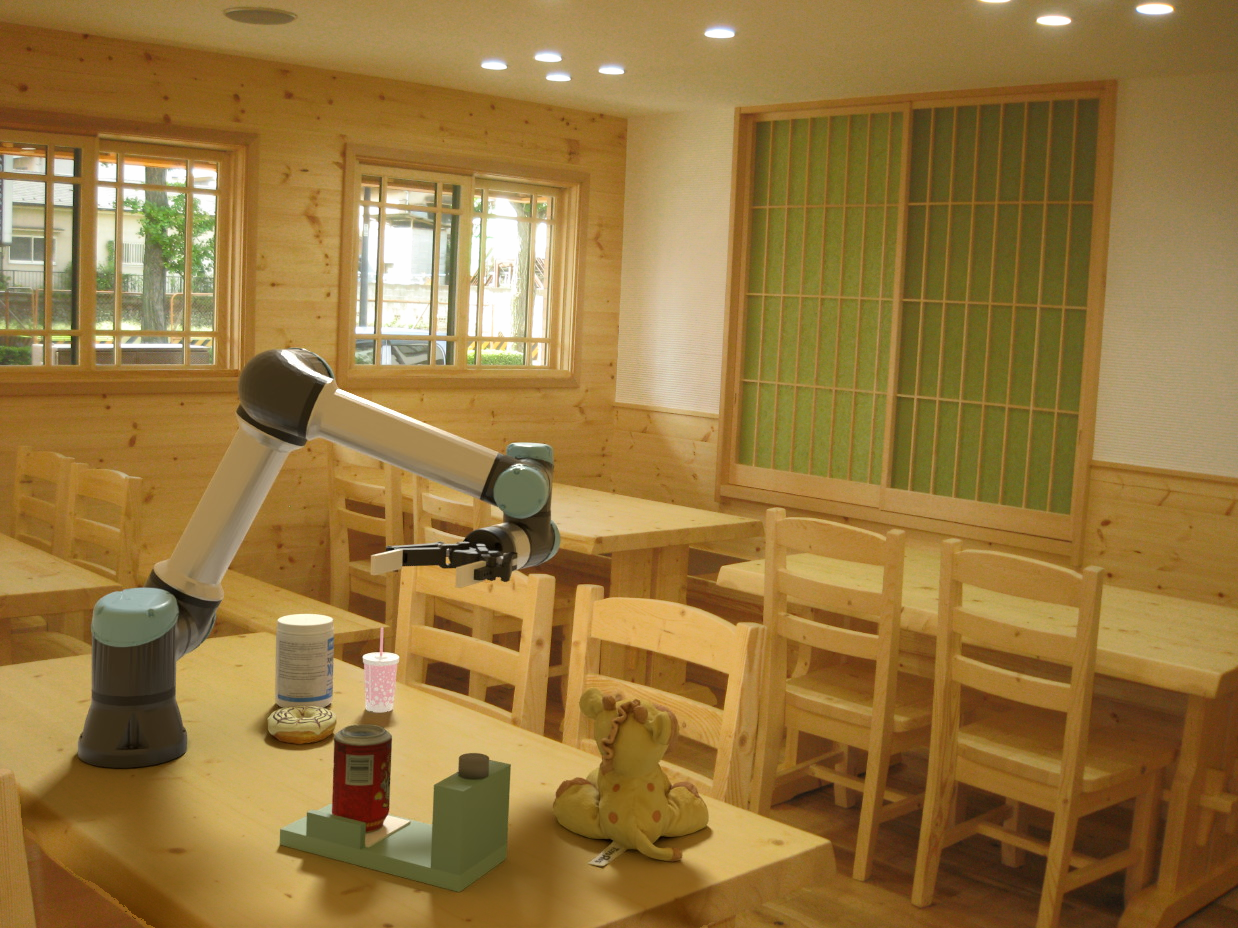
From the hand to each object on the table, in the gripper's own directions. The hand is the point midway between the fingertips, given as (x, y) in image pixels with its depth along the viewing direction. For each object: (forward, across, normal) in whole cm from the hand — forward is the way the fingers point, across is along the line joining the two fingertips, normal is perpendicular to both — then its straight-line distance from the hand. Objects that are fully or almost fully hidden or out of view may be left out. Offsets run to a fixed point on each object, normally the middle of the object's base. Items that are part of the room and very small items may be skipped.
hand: (414, 571), depth 169 cm
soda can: (+15, -3, -30) cm, 33 cm away
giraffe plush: (-7, -30, -32) cm, 45 cm away
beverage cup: (-33, +28, -32) cm, 54 cm away
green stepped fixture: (+15, -8, -32) cm, 36 cm away
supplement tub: (-28, +40, -32) cm, 59 cm away
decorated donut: (-15, +30, -32) cm, 47 cm away
